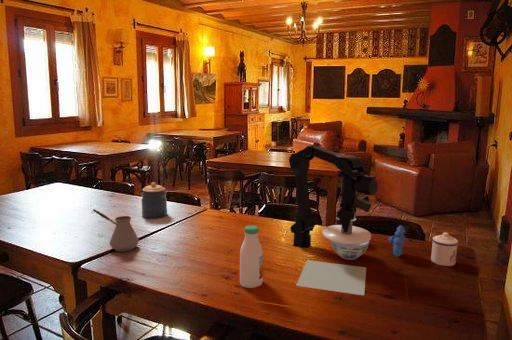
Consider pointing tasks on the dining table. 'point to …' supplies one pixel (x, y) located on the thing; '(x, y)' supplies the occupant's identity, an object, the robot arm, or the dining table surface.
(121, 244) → the coffee pot
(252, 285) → the milk bottle
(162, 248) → the dining table surface
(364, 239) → the lid
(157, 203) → the canister
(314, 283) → the mat
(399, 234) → the blue lumpy piece
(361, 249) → the chinaware
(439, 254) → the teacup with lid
